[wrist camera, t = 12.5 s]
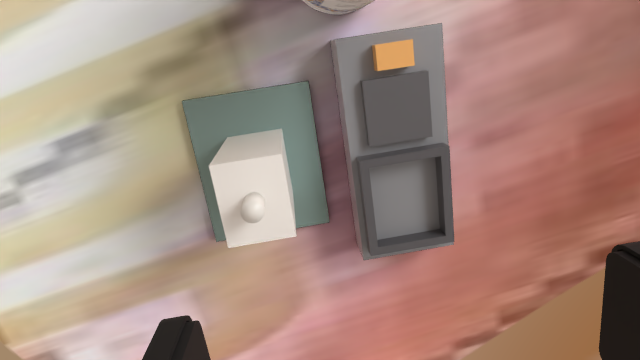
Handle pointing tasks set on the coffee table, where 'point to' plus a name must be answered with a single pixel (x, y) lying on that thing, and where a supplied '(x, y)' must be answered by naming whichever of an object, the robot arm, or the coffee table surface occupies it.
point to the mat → (257, 116)
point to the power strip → (396, 139)
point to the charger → (254, 188)
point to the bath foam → (337, 5)
